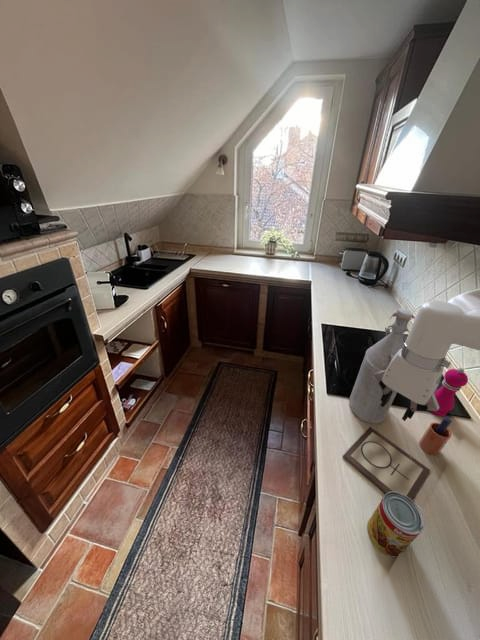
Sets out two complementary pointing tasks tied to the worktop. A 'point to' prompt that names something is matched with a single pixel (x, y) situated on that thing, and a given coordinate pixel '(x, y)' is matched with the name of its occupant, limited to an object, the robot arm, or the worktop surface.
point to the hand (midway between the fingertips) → (394, 410)
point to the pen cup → (434, 440)
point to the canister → (378, 359)
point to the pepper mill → (449, 390)
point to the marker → (443, 426)
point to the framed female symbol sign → (386, 464)
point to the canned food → (395, 523)
